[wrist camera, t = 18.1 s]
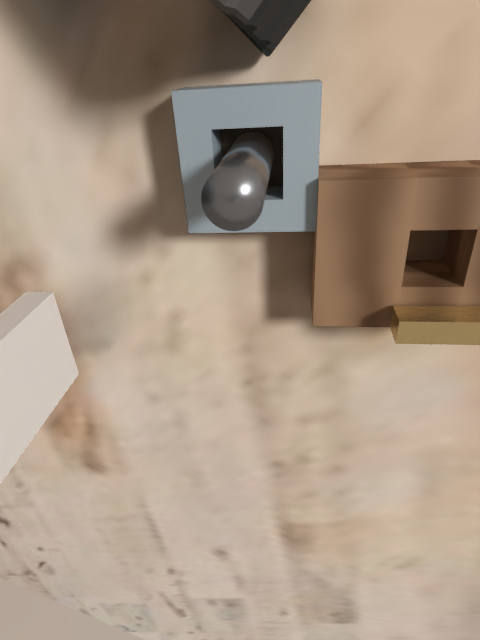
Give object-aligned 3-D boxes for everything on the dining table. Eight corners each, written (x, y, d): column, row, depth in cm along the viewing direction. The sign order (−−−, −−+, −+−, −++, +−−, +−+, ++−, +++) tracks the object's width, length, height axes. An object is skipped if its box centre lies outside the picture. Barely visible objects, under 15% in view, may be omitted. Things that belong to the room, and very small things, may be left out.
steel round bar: (232, 177, 35) (204, 231, 24) (230, 132, 33) (197, 169, 22) (273, 175, 34) (264, 230, 23) (273, 130, 33) (262, 167, 22)
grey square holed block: (198, 217, 37) (188, 233, 33) (184, 87, 32) (171, 90, 28) (313, 215, 36) (315, 231, 32) (318, 79, 30) (321, 81, 27)
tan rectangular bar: (389, 326, 34) (395, 343, 32) (393, 305, 33) (399, 321, 31) (480, 327, 34) (492, 344, 32) (486, 306, 33) (499, 322, 30)
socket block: (310, 297, 40) (312, 326, 36) (315, 165, 34) (318, 181, 29) (467, 298, 38) (488, 328, 34) (502, 159, 32) (535, 174, 28)
